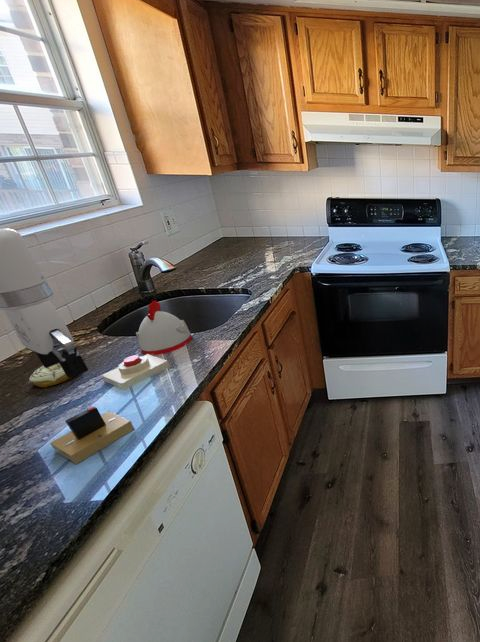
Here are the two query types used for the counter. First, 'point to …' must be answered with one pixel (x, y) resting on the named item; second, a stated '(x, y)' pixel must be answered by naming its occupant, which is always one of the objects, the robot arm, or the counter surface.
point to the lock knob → (85, 422)
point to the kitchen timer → (162, 332)
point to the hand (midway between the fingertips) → (66, 369)
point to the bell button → (132, 360)
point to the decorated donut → (48, 376)
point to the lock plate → (92, 438)
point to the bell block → (135, 372)
